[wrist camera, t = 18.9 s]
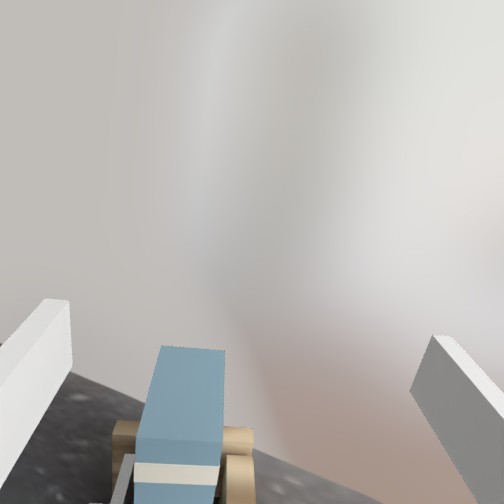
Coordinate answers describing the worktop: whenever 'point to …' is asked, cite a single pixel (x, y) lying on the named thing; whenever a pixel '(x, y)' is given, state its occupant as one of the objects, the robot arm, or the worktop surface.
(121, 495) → the bookend
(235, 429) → the oak shelf
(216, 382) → the book
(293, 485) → the worktop surface
